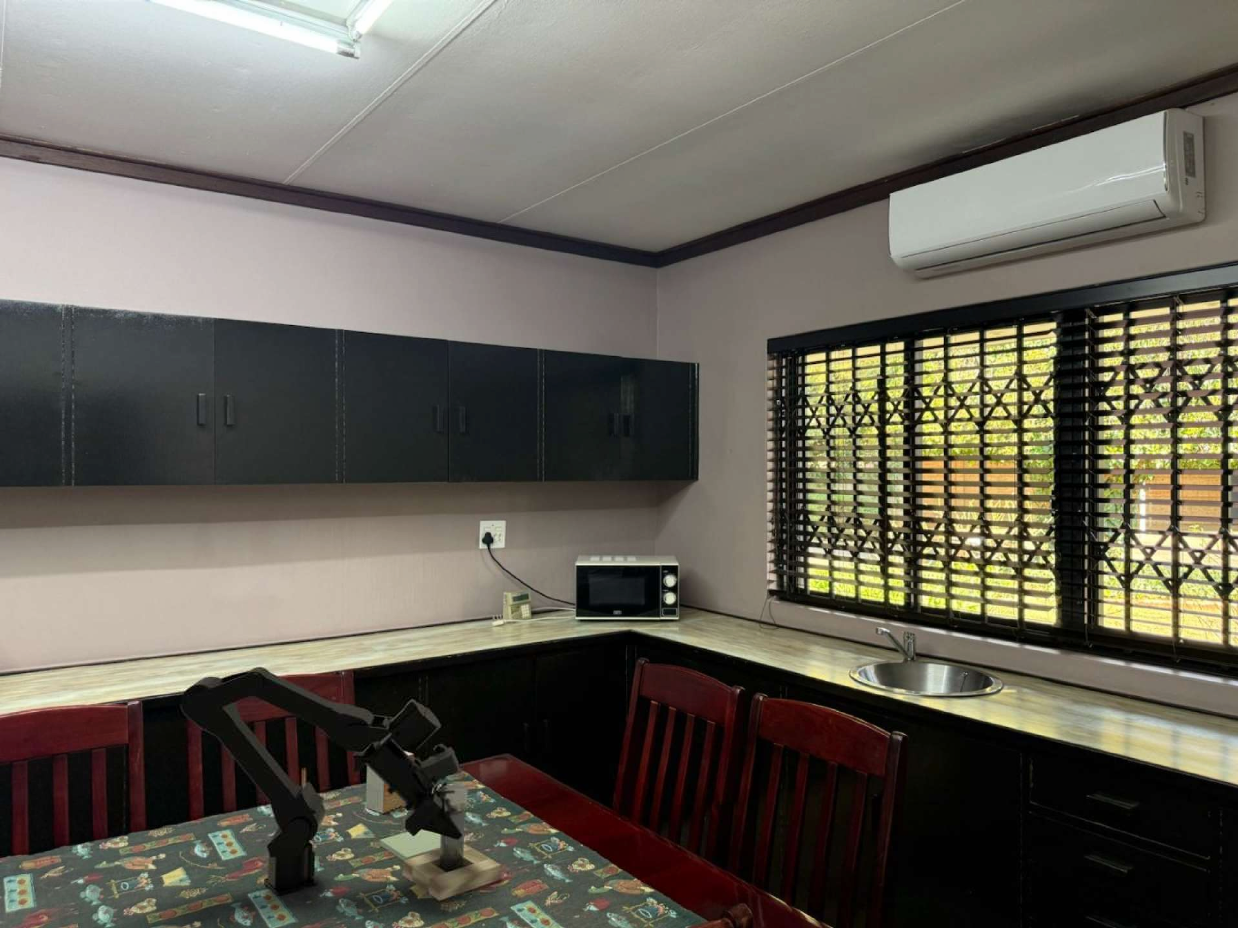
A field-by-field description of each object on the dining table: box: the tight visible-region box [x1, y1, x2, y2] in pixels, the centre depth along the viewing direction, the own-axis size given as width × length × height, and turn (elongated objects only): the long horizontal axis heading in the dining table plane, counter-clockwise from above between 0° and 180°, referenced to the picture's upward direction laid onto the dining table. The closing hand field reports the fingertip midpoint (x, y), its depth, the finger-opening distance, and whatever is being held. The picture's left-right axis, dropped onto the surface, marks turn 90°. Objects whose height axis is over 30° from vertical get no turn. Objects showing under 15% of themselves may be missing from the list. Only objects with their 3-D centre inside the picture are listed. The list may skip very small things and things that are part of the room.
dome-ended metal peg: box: [439, 784, 469, 873], centre depth 154 cm, size 5×5×15 cm
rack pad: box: [379, 830, 440, 862], centre depth 166 cm, size 10×10×1 cm
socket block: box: [402, 843, 502, 901], centre depth 154 cm, size 12×12×2 cm
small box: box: [365, 750, 415, 814], centre depth 187 cm, size 8×6×10 cm
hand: (460, 832), depth 154 cm, fingers closed on dome-ended metal peg, 4 cm apart
